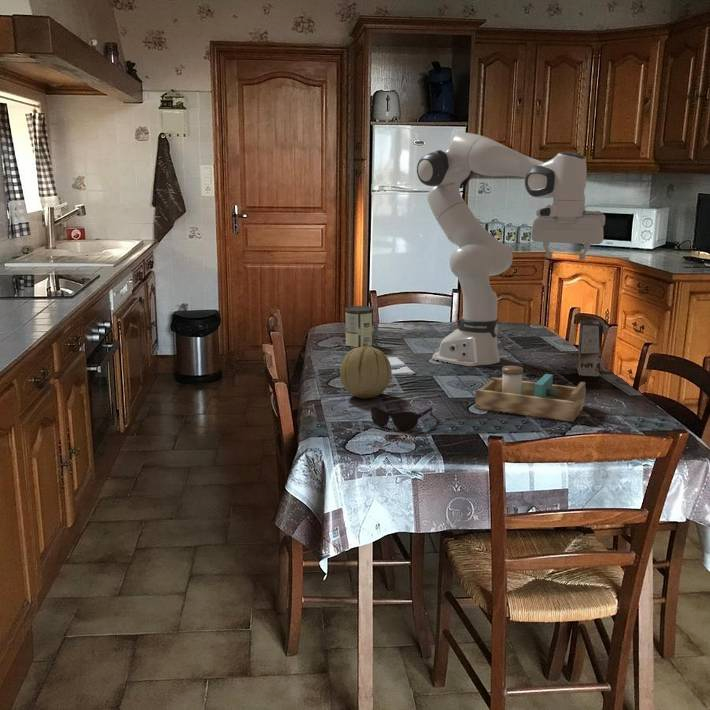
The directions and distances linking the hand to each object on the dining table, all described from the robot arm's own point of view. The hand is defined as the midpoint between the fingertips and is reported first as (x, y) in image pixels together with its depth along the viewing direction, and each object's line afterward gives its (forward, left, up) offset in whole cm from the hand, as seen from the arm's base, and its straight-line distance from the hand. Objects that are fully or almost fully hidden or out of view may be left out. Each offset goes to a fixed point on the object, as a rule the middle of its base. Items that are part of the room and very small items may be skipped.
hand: (565, 258), depth 228 cm
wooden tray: (-1, -29, -37) cm, 47 cm away
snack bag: (-55, -10, -38) cm, 68 cm away
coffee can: (-75, +16, -37) cm, 85 cm away
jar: (-6, -29, -36) cm, 47 cm away
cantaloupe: (-45, -40, -37) cm, 71 cm away
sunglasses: (-27, -54, -38) cm, 71 cm away
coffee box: (+6, +15, -37) cm, 41 cm away
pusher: (+4, -29, -36) cm, 46 cm away
